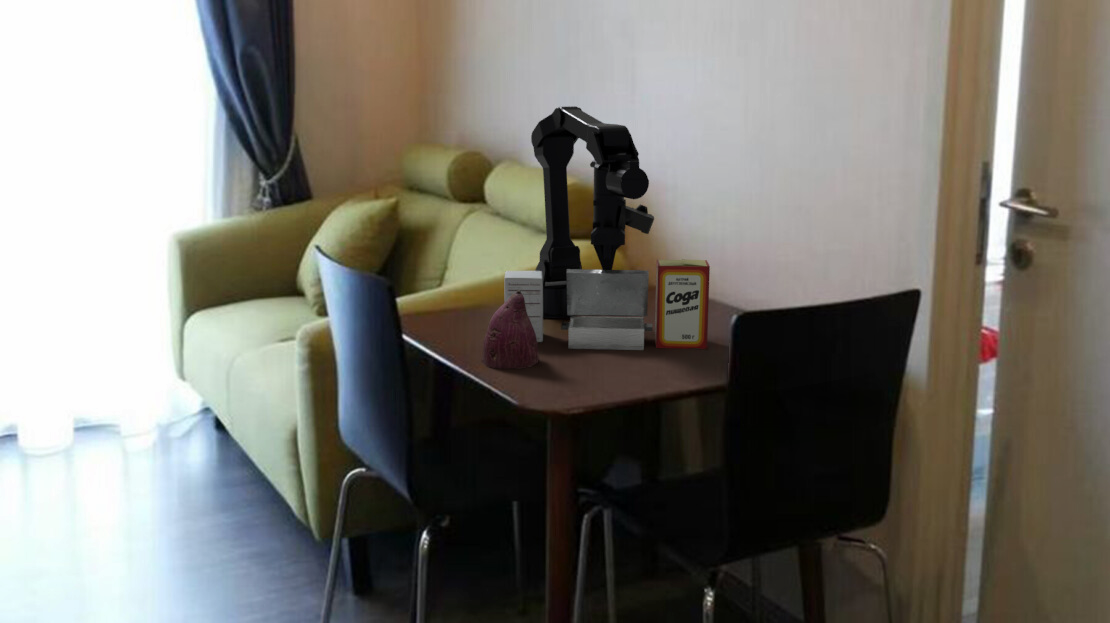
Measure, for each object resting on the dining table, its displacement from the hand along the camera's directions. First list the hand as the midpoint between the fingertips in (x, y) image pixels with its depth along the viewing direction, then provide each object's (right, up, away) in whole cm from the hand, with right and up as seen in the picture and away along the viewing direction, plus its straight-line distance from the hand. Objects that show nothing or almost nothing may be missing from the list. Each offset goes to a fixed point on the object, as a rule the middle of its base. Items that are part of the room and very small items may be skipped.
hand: (607, 275), depth 228 cm
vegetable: (-18, -16, -13) cm, 27 cm away
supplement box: (-16, -12, +5) cm, 21 cm away
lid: (0, -4, +1) cm, 4 cm away
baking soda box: (+14, -13, 0) cm, 19 cm away
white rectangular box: (0, -13, +1) cm, 13 cm away
